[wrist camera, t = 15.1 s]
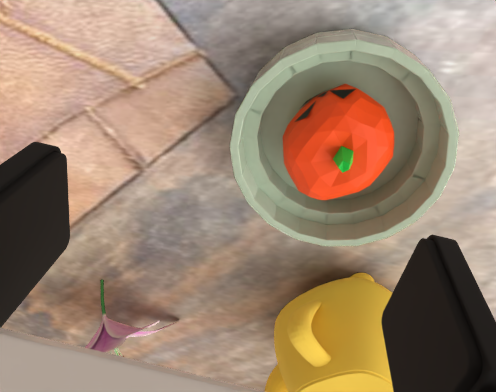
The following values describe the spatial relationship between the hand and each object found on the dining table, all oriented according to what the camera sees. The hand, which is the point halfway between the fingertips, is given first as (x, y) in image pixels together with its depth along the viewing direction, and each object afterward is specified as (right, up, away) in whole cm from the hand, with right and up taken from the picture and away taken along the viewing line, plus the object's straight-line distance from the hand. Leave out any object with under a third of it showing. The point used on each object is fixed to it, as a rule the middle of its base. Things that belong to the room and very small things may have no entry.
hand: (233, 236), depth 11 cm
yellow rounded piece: (+8, -11, +30) cm, 33 cm away
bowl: (+7, +6, +20) cm, 22 cm away
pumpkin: (+7, +6, +20) cm, 22 cm away
